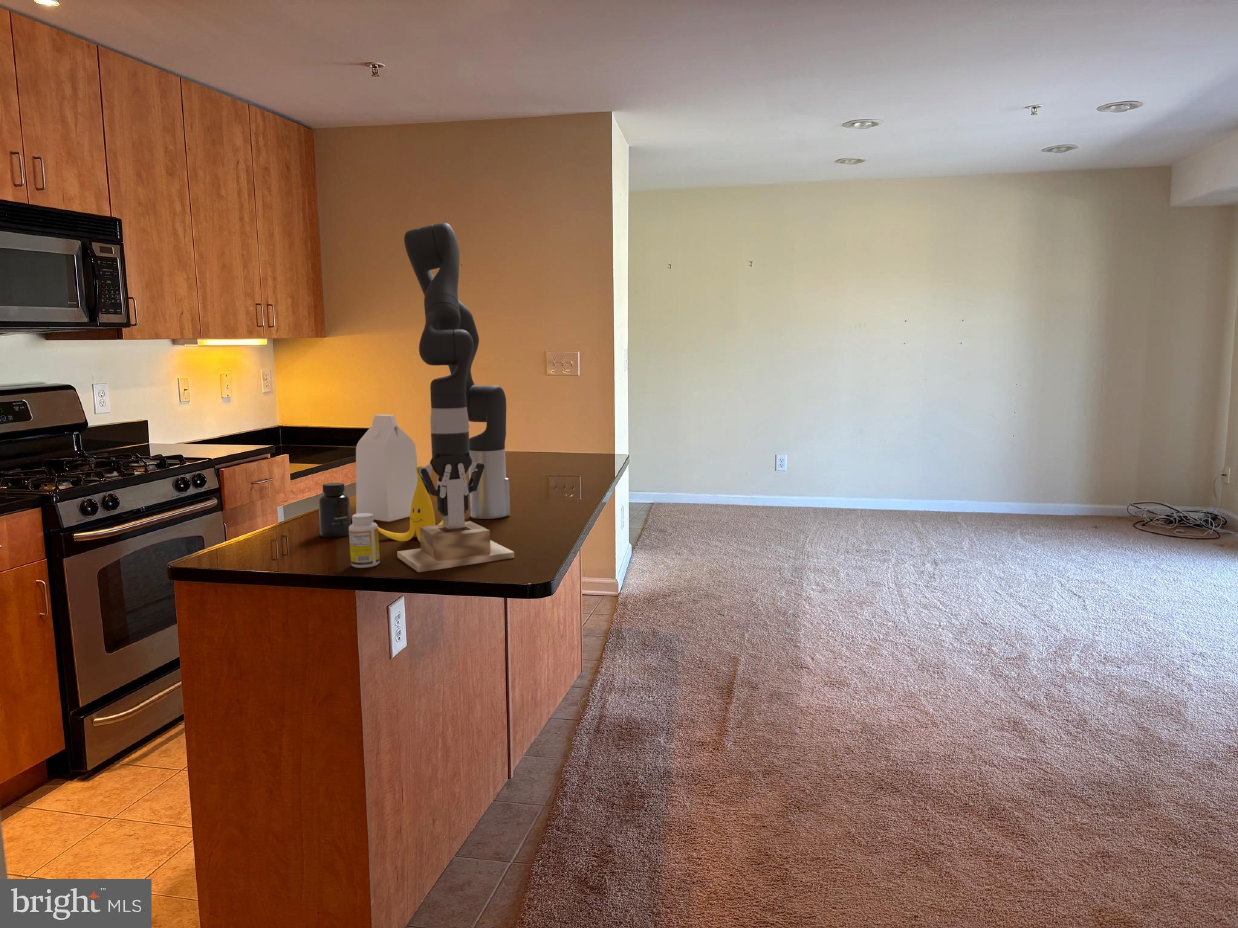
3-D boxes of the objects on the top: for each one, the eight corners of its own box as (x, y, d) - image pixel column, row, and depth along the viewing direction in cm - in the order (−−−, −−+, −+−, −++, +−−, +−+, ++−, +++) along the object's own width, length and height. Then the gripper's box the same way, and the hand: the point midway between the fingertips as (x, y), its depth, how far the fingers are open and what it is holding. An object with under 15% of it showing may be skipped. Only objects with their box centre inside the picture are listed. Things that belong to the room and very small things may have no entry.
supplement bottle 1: (341, 538, 189) (338, 486, 187) (314, 537, 190) (311, 486, 189) (356, 532, 196) (354, 481, 194) (330, 531, 197) (327, 481, 195)
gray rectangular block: (459, 524, 172) (457, 476, 170) (464, 527, 169) (463, 478, 168) (443, 526, 170) (441, 478, 169) (448, 529, 167) (446, 480, 166)
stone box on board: (488, 544, 182) (487, 517, 181) (514, 557, 170) (513, 528, 169) (397, 557, 171) (396, 528, 171) (418, 572, 159) (417, 541, 159)
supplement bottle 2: (369, 559, 169) (366, 510, 168) (385, 564, 166) (382, 514, 164) (345, 565, 165) (342, 515, 164) (361, 570, 162) (358, 518, 160)
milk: (422, 513, 217) (417, 414, 213) (388, 521, 207) (383, 417, 204) (390, 509, 223) (385, 412, 220) (356, 516, 214) (350, 416, 210)
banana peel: (444, 547, 180) (441, 471, 178) (372, 541, 187) (368, 467, 184) (483, 531, 195) (481, 461, 193) (415, 526, 202) (412, 458, 200)
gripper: (476, 426, 174) (479, 507, 176) (409, 430, 166) (413, 515, 169) (489, 429, 167) (492, 513, 170) (421, 433, 160) (425, 521, 162)
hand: (453, 513), depth 169 cm, fingers closed on gray rectangular block, 3 cm apart
